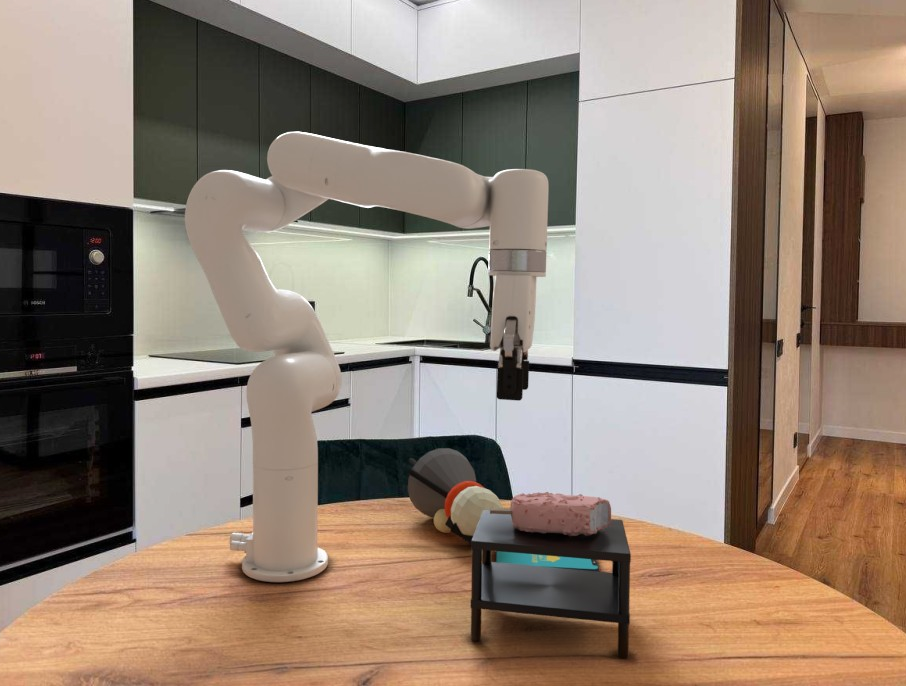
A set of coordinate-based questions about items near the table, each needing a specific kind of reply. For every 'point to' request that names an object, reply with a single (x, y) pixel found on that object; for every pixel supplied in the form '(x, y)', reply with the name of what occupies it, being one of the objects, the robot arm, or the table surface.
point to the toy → (449, 492)
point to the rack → (551, 575)
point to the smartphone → (547, 561)
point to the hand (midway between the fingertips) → (513, 393)
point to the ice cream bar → (558, 513)
